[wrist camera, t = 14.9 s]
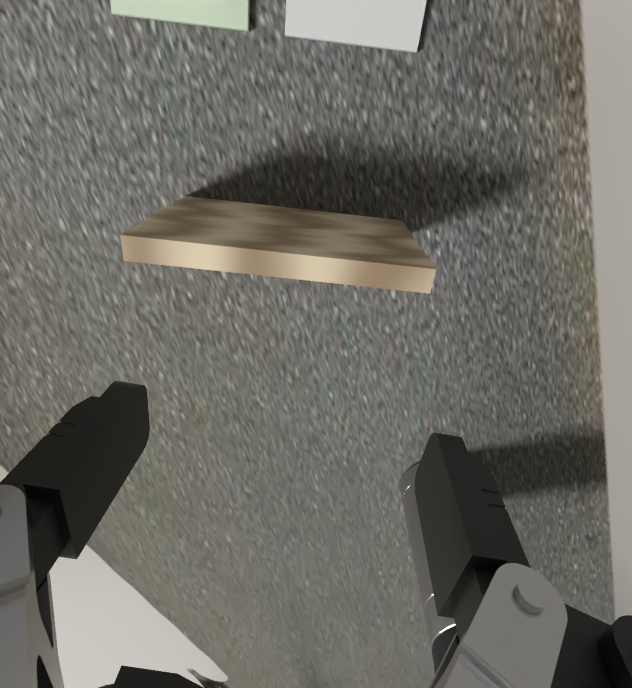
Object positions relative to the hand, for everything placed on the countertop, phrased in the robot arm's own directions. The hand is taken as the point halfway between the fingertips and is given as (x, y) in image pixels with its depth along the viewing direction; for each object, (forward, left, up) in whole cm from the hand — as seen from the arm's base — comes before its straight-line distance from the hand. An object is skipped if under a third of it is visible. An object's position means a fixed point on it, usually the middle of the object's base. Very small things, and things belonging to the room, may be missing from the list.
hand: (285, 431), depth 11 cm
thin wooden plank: (+2, 0, -26) cm, 26 cm away
